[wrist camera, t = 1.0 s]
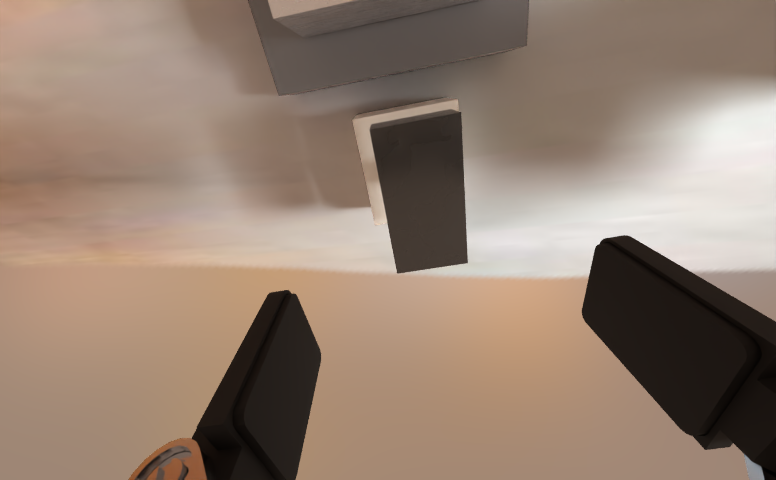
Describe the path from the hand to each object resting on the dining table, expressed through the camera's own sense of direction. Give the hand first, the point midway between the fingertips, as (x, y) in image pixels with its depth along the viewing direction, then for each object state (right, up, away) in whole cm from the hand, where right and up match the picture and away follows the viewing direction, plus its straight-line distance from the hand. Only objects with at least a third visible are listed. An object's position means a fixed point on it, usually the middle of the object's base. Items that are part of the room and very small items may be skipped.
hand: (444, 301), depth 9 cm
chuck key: (0, +9, +17) cm, 20 cm away
